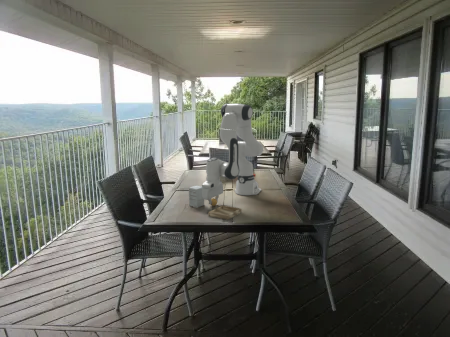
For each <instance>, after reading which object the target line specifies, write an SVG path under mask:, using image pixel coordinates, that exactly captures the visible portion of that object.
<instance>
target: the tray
mask: <svg viewBox="0 0 450 337" xmlns="http://www.w3.org/2000/svg"><path fill="white" fill-rule="evenodd" d="M242 209H243V208H240V207H234V206H230V205H229V206H227V205H224V204H223V205H220V206H218V207H215V208H214V209H213V210H212V209H211V210H210V211H208V214H207V215H208V217H212V218H217V219H222V220H227V221H229V220H231V219H233V218H234V217H237V216H238V215H239V214H242V211H243V210H242Z"/></svg>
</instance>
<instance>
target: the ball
mask: <svg viewBox="0 0 450 337" xmlns="http://www.w3.org/2000/svg"><path fill="white" fill-rule="evenodd" d="M211 201H212V204H209V205H210V206H211V207H215V206H216V205H217V204H218V201H217V200H216V199H215V197H213V198H212V199H211Z"/></svg>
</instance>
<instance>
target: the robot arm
mask: <svg viewBox="0 0 450 337" xmlns="http://www.w3.org/2000/svg"><path fill="white" fill-rule="evenodd" d="M253 110H254V109H253V108H252V106H251V105H249V104H243V103H229V102H227V103H224V104H223V105H222V106H221V108H220V116H222V119H221V124H220V128H219V138H220V140H221V141H222V143H224V144H225V145H226V147H227V148H228V149H227V150H228V162H227V161H225V160H222V159H220V158H218V157H210V158H208V159H207V161H206V166H205V171H206V172H205V173H206V179H205V181H204V182H202V184H201V187H203V189H202V198H203V199H204V201H205V200H206V201H208V205H210V204H212V201H211V199H212V198H215V199H216V200H217V202H218V201H219V196H220V195H222V194H224V183H223V182H222V180H220V179H221V177H224V178H226V179H229V180H231V181H233V180H235V179H237V180H236V181H235V182H236V184H235V189H234V193H235V194H237V195H240V196H256V195H258V194H259V193H260V192H261V191H262V188H260V187H259V182H257V180H255V177H256V173H254V164H253V163H252V162H251V161H250V160H248V159H247V158H246V157H252V158H253V157H260V156H261V155H262V154H263V152H264V145H263V144H262V143H261V142H260V141H258V139H257V138H256V137H255V135H254V134H253V129H252V117H253V114H254V113H253ZM238 138H240V139H241V140H238Z"/></svg>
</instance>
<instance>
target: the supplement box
mask: <svg viewBox="0 0 450 337" xmlns="http://www.w3.org/2000/svg"><path fill="white" fill-rule="evenodd" d="M202 189H203V187H202V185H193V186H190V187H188V202H189V204H188V205H189V207H192V206H193V207H194V208H200V207H203V206H205V199H203V198H202Z"/></svg>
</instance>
